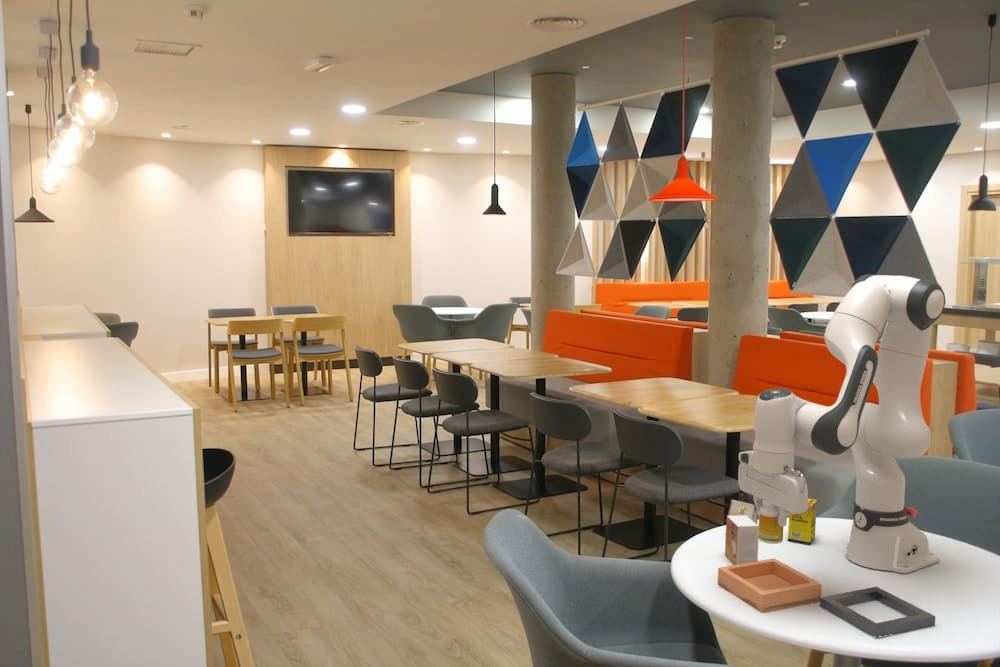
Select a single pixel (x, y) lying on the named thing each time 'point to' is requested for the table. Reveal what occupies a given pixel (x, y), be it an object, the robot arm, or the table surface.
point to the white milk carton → (742, 510)
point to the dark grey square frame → (915, 615)
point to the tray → (769, 584)
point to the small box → (741, 539)
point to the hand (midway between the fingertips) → (771, 520)
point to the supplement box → (803, 525)
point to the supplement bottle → (769, 524)
